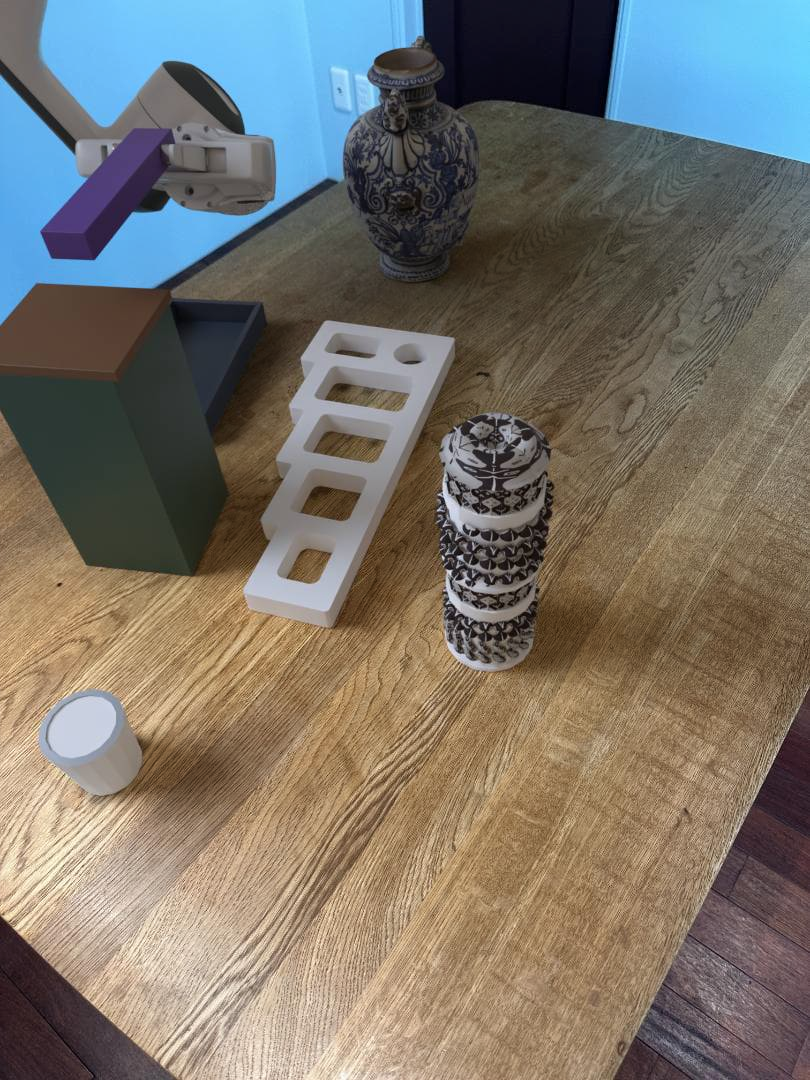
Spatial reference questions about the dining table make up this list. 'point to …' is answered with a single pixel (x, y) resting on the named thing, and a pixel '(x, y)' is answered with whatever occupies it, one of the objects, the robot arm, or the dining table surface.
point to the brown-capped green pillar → (112, 424)
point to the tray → (217, 347)
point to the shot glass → (91, 742)
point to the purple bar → (107, 197)
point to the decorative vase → (411, 167)
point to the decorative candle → (493, 537)
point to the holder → (342, 461)
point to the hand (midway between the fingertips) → (140, 153)
